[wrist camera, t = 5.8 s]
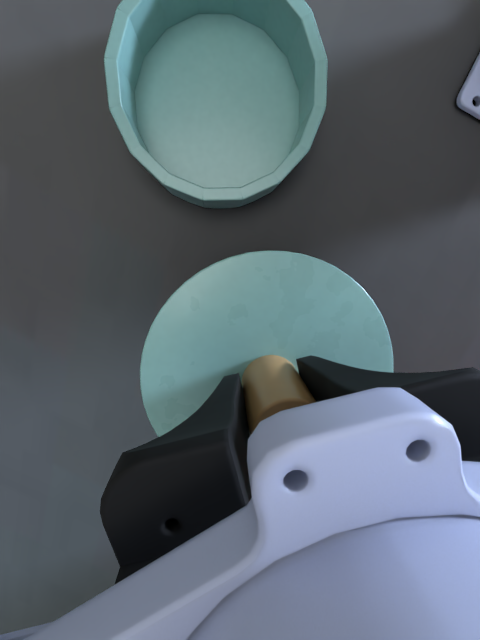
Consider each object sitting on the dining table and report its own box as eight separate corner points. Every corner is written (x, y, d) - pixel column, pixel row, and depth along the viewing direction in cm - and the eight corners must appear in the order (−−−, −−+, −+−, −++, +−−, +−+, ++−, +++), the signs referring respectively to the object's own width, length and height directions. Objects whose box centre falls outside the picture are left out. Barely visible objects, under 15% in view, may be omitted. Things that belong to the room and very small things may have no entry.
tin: (308, 8, 17) (331, -52, 14) (305, 207, 19) (323, 198, 16) (117, 6, 16) (91, -57, 13) (136, 210, 19) (118, 202, 15)
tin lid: (389, 245, 14) (486, 244, 9) (374, 465, 16) (443, 563, 11) (132, 254, 13) (79, 259, 8) (157, 481, 15) (128, 592, 11)
